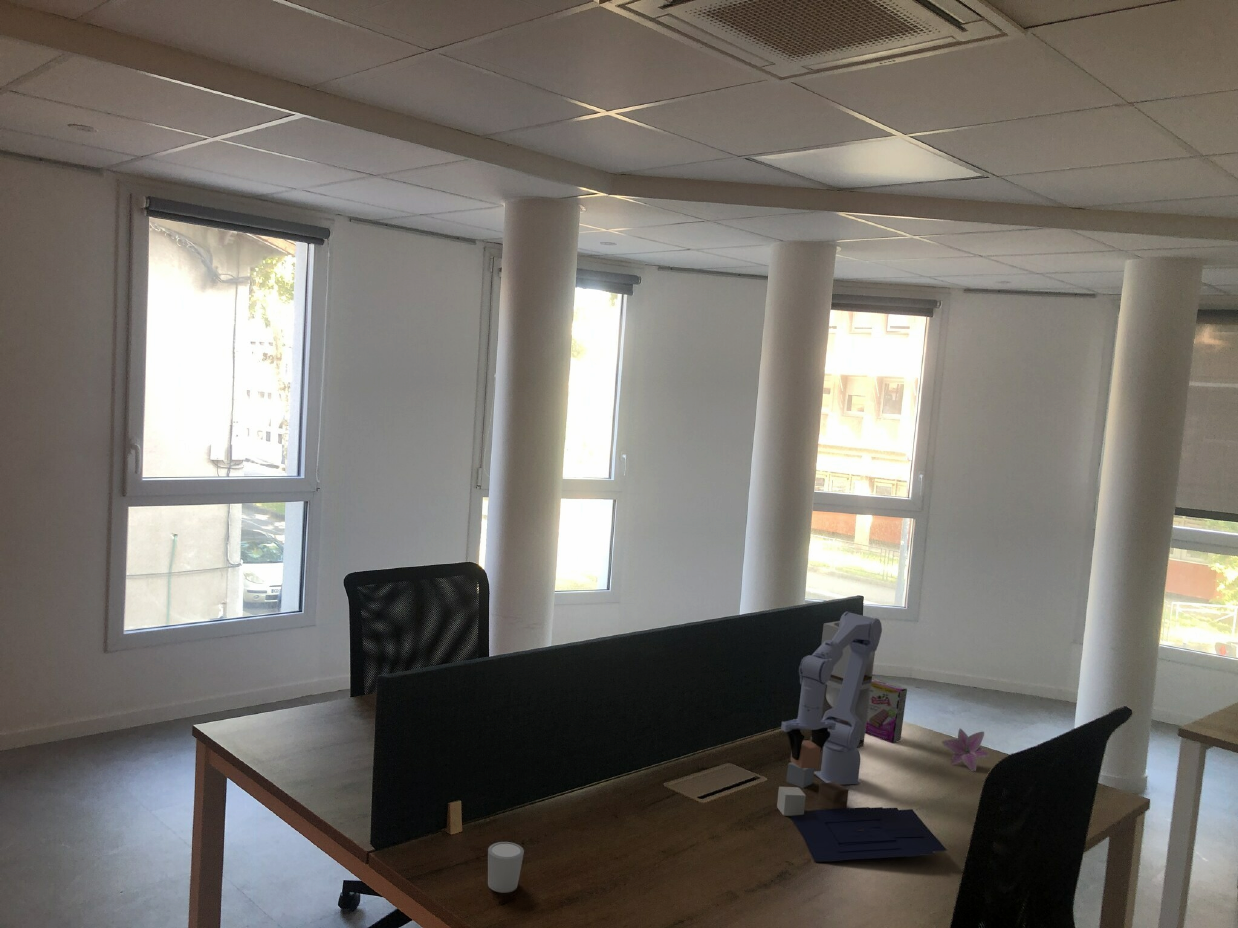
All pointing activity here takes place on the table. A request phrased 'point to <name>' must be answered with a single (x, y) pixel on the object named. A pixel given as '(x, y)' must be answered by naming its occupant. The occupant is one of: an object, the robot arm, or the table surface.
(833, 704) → the grey elongated piece
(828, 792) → the walnut cube
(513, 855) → the grey cylinder
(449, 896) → the table surface
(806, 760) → the terracotta cube
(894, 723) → the candy bar box
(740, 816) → the table surface
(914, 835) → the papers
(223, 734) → the table surface
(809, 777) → the slate cube
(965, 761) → the lily
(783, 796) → the offwhite cube
